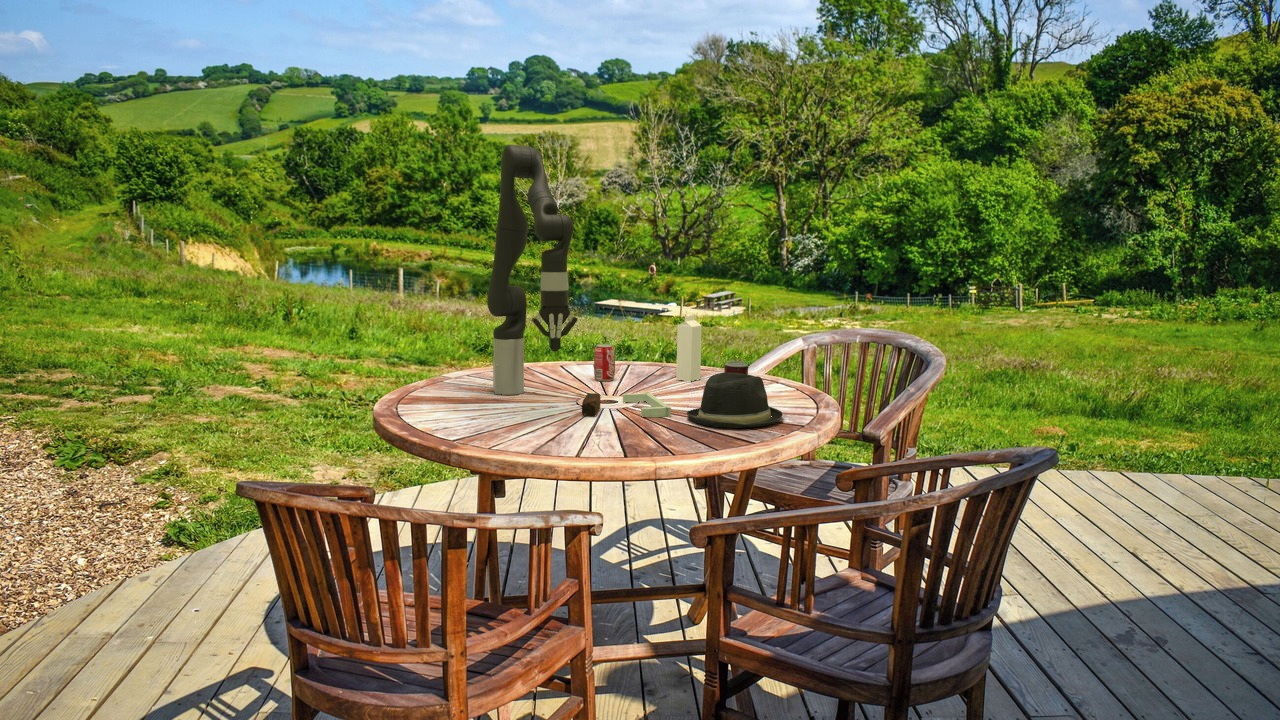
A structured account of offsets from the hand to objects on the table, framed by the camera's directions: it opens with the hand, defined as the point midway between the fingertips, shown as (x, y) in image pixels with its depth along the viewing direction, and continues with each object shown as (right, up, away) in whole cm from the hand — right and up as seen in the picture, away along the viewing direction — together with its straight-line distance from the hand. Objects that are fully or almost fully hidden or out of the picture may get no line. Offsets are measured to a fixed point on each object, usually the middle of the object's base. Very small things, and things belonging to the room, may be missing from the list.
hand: (554, 351), depth 237 cm
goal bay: (+25, -17, +10) cm, 32 cm away
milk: (+40, -10, +56) cm, 69 cm away
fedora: (+50, -19, 0) cm, 53 cm away
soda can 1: (+11, -9, +54) cm, 56 cm away
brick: (+10, -18, +5) cm, 21 cm away
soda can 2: (+52, -15, +21) cm, 58 cm away
